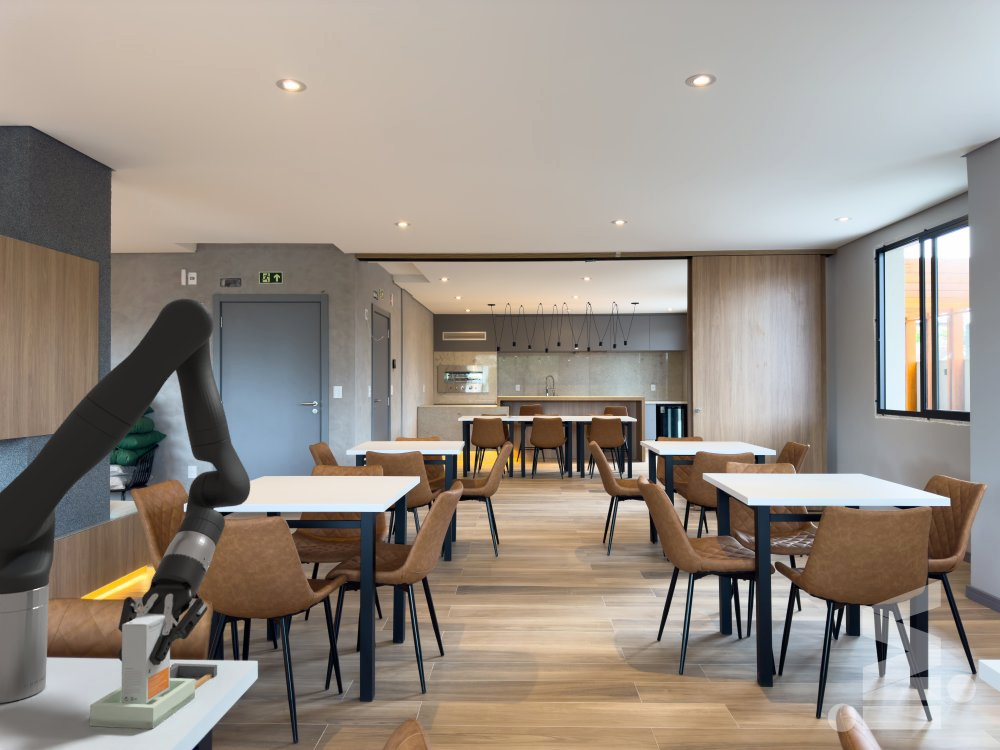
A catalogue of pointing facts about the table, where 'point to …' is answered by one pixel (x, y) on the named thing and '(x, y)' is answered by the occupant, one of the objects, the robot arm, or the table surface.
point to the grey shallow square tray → (194, 671)
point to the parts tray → (142, 707)
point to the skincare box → (143, 660)
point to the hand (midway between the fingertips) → (139, 661)
